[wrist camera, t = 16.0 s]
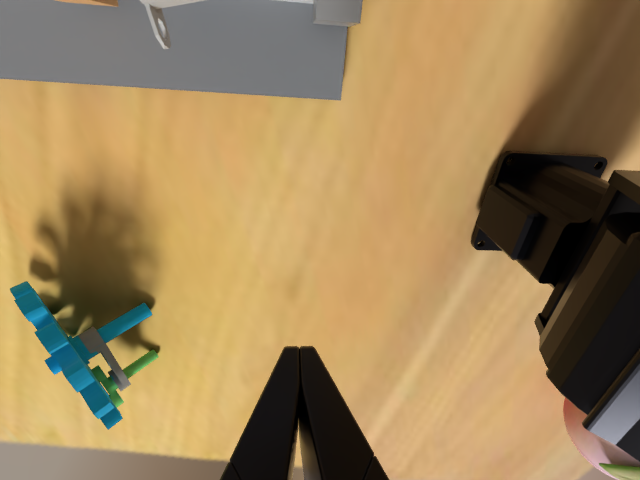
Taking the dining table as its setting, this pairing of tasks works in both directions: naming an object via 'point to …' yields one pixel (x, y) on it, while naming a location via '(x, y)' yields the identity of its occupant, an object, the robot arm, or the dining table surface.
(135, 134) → the dining table surface
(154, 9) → the electric motor
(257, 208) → the dining table surface
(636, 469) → the decorative fruit
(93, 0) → the tall tan wooden block
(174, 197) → the dining table surface
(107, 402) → the gear
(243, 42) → the rail
